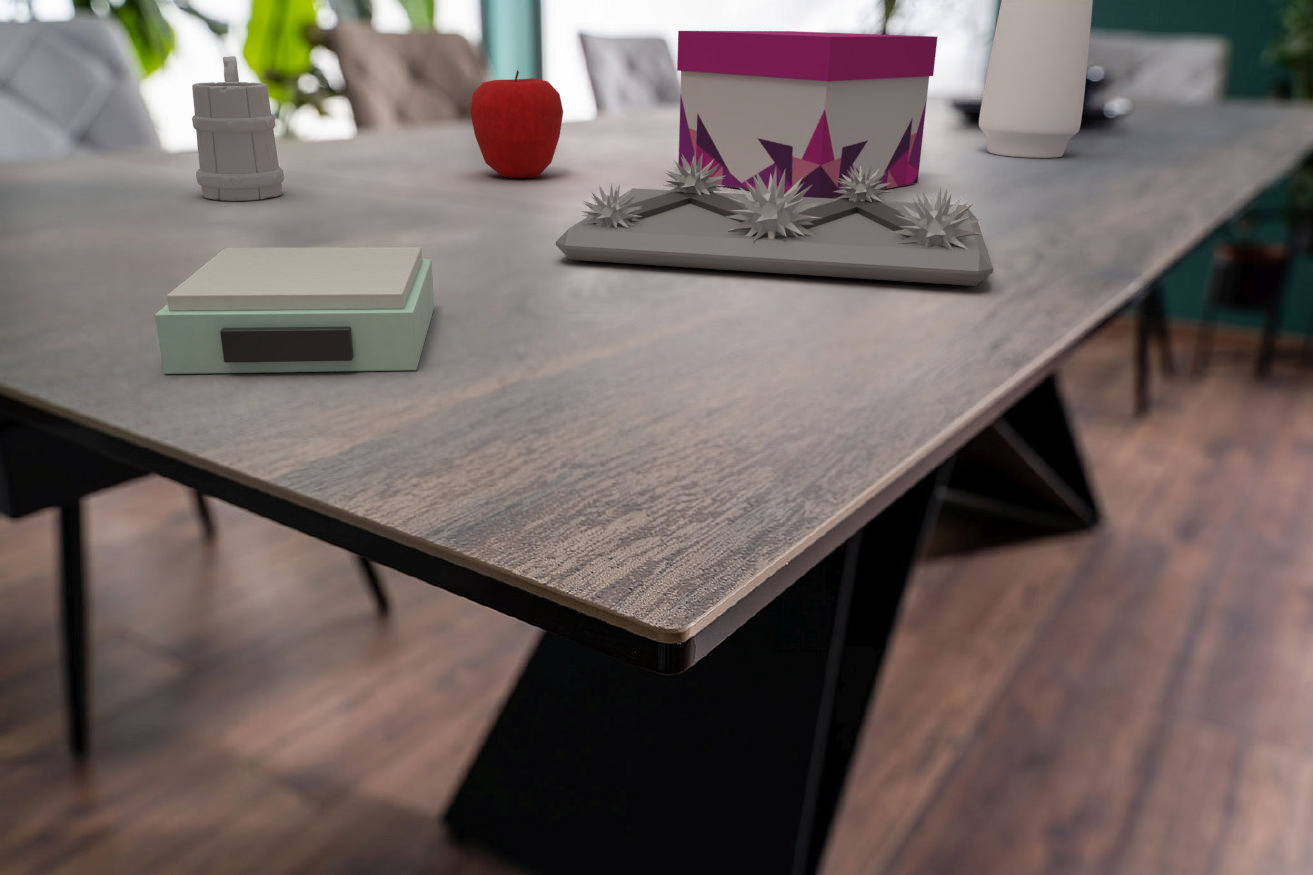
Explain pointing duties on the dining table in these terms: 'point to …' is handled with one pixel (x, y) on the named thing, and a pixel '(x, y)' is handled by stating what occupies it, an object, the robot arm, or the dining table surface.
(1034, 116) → the vase
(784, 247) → the decorative plate
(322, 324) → the scale
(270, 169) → the mug
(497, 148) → the apple
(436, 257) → the dining table surface
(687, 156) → the decorative box
